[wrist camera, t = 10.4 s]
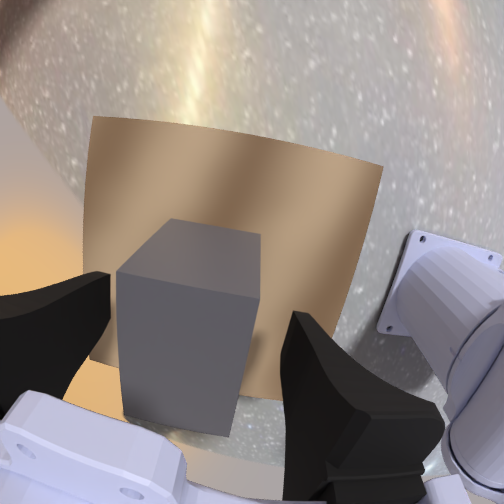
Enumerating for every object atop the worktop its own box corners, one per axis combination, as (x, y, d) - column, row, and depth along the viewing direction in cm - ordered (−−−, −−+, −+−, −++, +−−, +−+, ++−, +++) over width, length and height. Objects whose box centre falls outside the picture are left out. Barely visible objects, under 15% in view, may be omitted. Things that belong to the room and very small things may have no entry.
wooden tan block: (375, 164, 14) (383, 166, 13) (304, 391, 18) (305, 403, 18) (102, 116, 13) (93, 116, 12) (96, 350, 18) (89, 359, 17)
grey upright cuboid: (260, 233, 14) (260, 298, 9) (238, 346, 16) (228, 437, 11) (170, 218, 14) (115, 271, 8) (161, 331, 16) (124, 414, 10)
